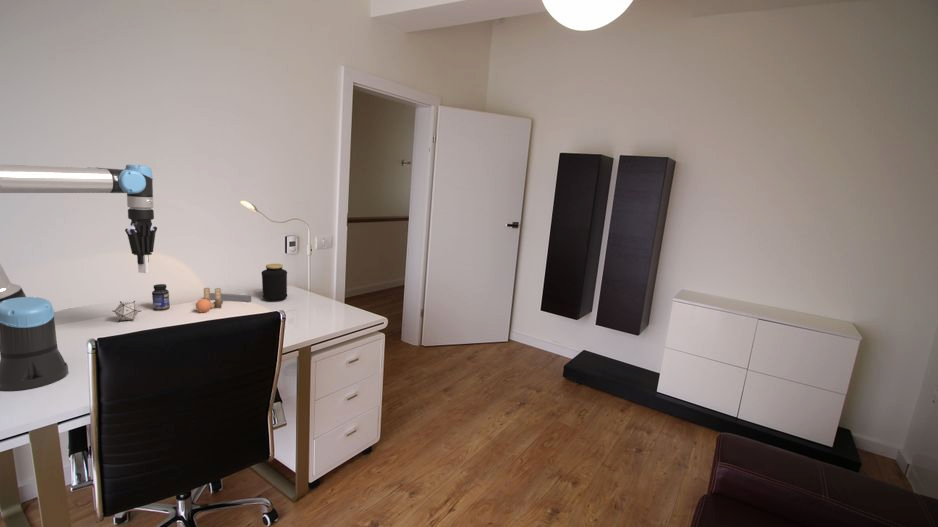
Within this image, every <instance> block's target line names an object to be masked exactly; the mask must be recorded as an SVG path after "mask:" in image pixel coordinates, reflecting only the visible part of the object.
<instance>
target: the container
mask: <svg viewBox="0 0 938 527" xmlns="http://www.w3.org/2000/svg"><path fill="white" fill-rule="evenodd" d="M287 275H288V271H287V270H286V269H283V264H280V263H269V264H266V265H265V269H264V270H262V271H261V282H262V284H261V286H262V299H263V300H265V301H268V302H279V301H283V300H285V299H287V297H288V296H289V295H288V276H287Z"/></svg>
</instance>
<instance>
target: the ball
mask: <svg viewBox="0 0 938 527" xmlns="http://www.w3.org/2000/svg"><path fill="white" fill-rule="evenodd" d="M211 303H212V301H211V300H210V301H209V300H207V299H204V298H200V299H199V300H197V302H196V304H195V308H196V311H198V312H199V313H207V312H209V311H210V310H212V309H211Z"/></svg>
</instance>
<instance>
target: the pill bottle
mask: <svg viewBox="0 0 938 527" xmlns="http://www.w3.org/2000/svg"><path fill="white" fill-rule="evenodd" d="M153 289H154V290H153V291H152V292H151V296H152V306H153V311H157V312H158V311H162V312H163V311H167V310H170V306H171V305H170V292H169V290H168V289H167V284H166V283H165V284H164V283H162V284H161V283H160V284H154V285H153Z"/></svg>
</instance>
